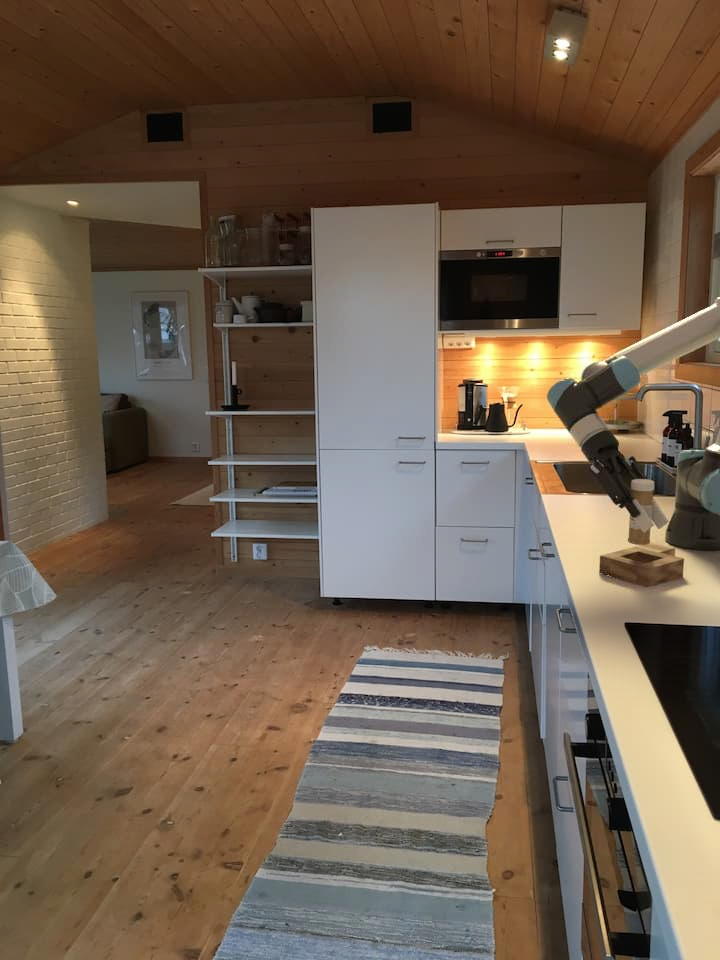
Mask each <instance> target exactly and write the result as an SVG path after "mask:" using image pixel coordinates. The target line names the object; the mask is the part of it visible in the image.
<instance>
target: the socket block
mask: <svg viewBox="0 0 720 960" xmlns="http://www.w3.org/2000/svg"><path fill="white" fill-rule="evenodd" d="M684 563H685V558H683V557H680V556H679V557H678V556H676V555H675V556H671V555H667V554H663V553H659V552H655V551H651V550H647V549H643V548H639V547H635V546H632V547H629V548H624V549H621V550H616V551H613V552H609V553H608V552H607V553H605V554H600V555H599V570H598V574H599V573H602V574H605V575H604V576H606V575H609V576H611V577H610V578H613V577H614V578H613V579H616V578H617V580H619V579H620V581H624V582H626V583H630V584H633V585H637V586H641V587H643V586H644V588H647V587H649V588H651V586H652V587H654V586H659V585H661V583H662V584H664V583H668V582H671V581H674V580H675V581H676V580H678V579H681V578H684V567H685V566H684ZM602 574H601V575H602ZM609 576H608V577H609ZM658 584H659V585H658Z"/></svg>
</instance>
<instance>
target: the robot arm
mask: <svg viewBox="0 0 720 960" xmlns="http://www.w3.org/2000/svg"><path fill="white" fill-rule="evenodd" d="M719 339H720V296H719V297H717V298H715V300H714V302H713V304H712V305H711V306H709V307H707V308H704V309H702V310H700V311H698V312H696V313H695V314H692V315H690V316H688V317H686V318H685V319H682V320H680V321H679V322H676V323H674V324H672V325H671V326H668V327H667V328H665V329H662V330H660V331H658V332H656V333H655V334H652V335H650V336H648V337H647V338H645V339H642V340H639V342H636V343H634V344H632V345H630V346H628V347H626V348H624V349H622V350H620V351H618V352H616V353H614V354H612V355H611V356H608V357H607V358H603V359H602V360H599V361H596V362H595V361H594V362H592V363H591V364H589V365H587V366H586V367H584V369H583V370H582V372H581V377H580V378H581V379H580V380H579V381H576V380H575V379H574V378H571V377H566V378H563V379H561V380H558V381H557V382H555V383H554V384H553V385H552V386H551V387H550V388H549V390H548V391H547V395H546V399H547V402H548V403H549V406H551V408H552V410H553V411H554V414H555V415H556V416H557V417H558V419H559V420H560V422H561V423H562V425H563V426H564V427H565V429H566V430H567V432H568V433H569V434H570V436H571V437H572V438H573V440H574V441H575V443H576V444H577V446H578V447H579V448H581V449H580V450H581V452H582V453H583V455H584V457H585V458H586V460H587V461H588V462H589V463H591V466H589V468H588V469H587V470H588V471H589V472H590V474H592V475H593V476H594V477H595V479H596V480H597V481H598V483H599V485H600V486H601V487H602V488H603V490H604V491H605V493H606V494H607V496H608V497H609V499H610V500H611V501H612V503H613V504H614V505H615V506H618V508H620V509H623V508H625V509H626V510H627V513H629V516H630V515H631V516H632V517H633V518H634V520H635V521H636V523H637V524H638V525H639V527H640V528H641V530H642V531H643V533H644V532H647V531H648V530H649V529H650V528H651V529H652V528H653V527H654V526H655V527H656V528H657V529H658V530H660V529H662V528H663V527H665V526H666V525H667V524H668V525H667V527H666V529H665V537H664V540H665V542H667V543H668V544H671V545H673V546H676V547H680V548H687V549H692V550H693V549H694V550H703V551H707V550H708V551H714V550H715V551H716V550H720V429H719V430H718V433H717V437H716V438H715V439H716V440H715V442H714V443H712V444H711V445H709V446H707V447H706V448H705V449H683V450H681V451H679V453H678V455H677V461H676V466H677V467H676V481H675V482H676V483H675V484H676V485H675V495H674V496H675V498H674V499H675V500H674V501H675V502H674V509H673V512H672V515H671V517H670V520H669V519H668V518H667V516H666V515H665V513H664V512H663V510H662V508H661V507H660V506H659V504H658V503H657V502H656V500H655V499H654V498H653V500H652V519H650V518H649V516H648V515H647V514H646V512H645V511H644V509H643V508H642V506H641V505H640V504H639V502H638V501H637V499H634V500H633V501H632V499H633V498H632V496H631V494H632V493H631V492H630V491H629V489H630V490H632V489H631V481H632V480H634V479H647V480H649V478H648V477H647V475H646V474H645V473H644V471H643V470H642V469H641V467H640V466H639V464H638V462H637V459H636V458H635V456H632V455H631V456H630V457H629V458H628V457H625V455H624V454H623V453H622V452H620V450H619V446H620V442H619V440H618V439H617V437H616V436H615V435H614V433H613V432H612V431H611V430H610V428H609V426H608V424H607V423H606V422H605V421H604V419H603V418H602V416H601V415H600V414H599V412H598V410H600V409H601V408H603V407H604V406H607V404H609V403H611V402H613V401H614V400H616V399H618V398H620V397H621V396H623V395H625V394H626V393H628V392H631V390H632V389H634V388H636V387H637V386H638V385H639V384H641V381H642V378H641V377H642V376H644V375H646V374H648V373H650V372H653V371H655V370H656V369H659V368H661V367H662V366H665V365H666V364H668V363H670V362H673V361H675V360H677V359H680V358H682V357H683V356H685V355H687V354H689V353H691V352H693V351H696V350H698V349H700V348H702V347H704V346H706V345H708V344H710V343H712V342H715V341H717V340H719ZM628 487H629V488H628ZM656 493H657V490H656V489H655V488H654V490H653V496H654V495H656ZM651 529H650V530H651Z"/></svg>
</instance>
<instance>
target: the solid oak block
mask: <svg viewBox="0 0 720 960" xmlns="http://www.w3.org/2000/svg"><path fill="white" fill-rule="evenodd" d="M634 547H639V548H643V549H647V550H651V551H655V552H659V553H663V554H667V555H671V556H675V557H676V548H675V547H672V546H668V545H663V544H661V543H660V544H659V543H655V542H651V541H650V543H649V544H647V545H636V546H634Z"/></svg>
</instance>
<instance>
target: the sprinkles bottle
mask: <svg viewBox="0 0 720 960" xmlns="http://www.w3.org/2000/svg"><path fill="white" fill-rule="evenodd" d="M647 479H648V478H647ZM647 479H634V480H632V481H631V489H632V490H631V489H630V490H631V493H630V494H631V496H632V498H633V499H632V501H633V500H634V499H637V501H638V502H639V504H640V505H641V506H642V508H643V509H644V511H645V512H646V514H647V515H648V516H649V518H650V519H651V520H652V500H653V499H654V497H653V496H654V495H653V490H654V489H655V481H654V480H651V479H648V480H647ZM628 522H629V523H628V527H629V528H628V538H627V542H628V543H629V544H631V545H636V546H639V545H647V544H649V543H651V539H650V537H651V529H652V527H651V528H650V529H649V530H648V531H647V532H644V533H643V531H642V530H641V528H640V527H639V525H638V524H637V523H636V521H635V520H634V518H633V517H632V516H631V515H630V514H629V521H628Z"/></svg>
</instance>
